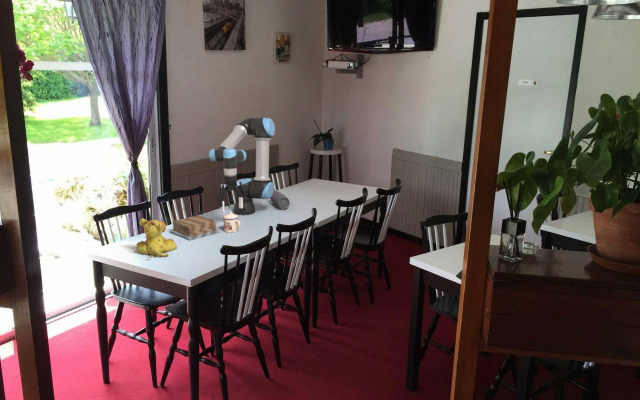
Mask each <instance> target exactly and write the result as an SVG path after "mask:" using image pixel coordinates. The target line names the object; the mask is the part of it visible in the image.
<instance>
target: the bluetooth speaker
mask: <svg viewBox="0 0 640 400" xmlns="http://www.w3.org/2000/svg"><path fill="white" fill-rule="evenodd" d="M269 200H270V201H271V203H273V204H274V205H275V206H276V207H277V208H278V209H283V210H284V209H287V208H288V207H290V203H291V202H290V199H289V197H287V196H286V195H285V194H283V193H282V192H280V191H277V190H274V191H273V194H272V196H271V198H269Z"/></svg>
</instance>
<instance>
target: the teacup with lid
mask: <svg viewBox="0 0 640 400" xmlns="http://www.w3.org/2000/svg"><path fill="white" fill-rule="evenodd" d="M222 219H223V229H224V232H225V233H227V234H229V233H237V232H238V231H239V228H241V222H240V221H239V215H237V214H234V213H233V212H232V211H229V212H228V213H227V214H225V215H223V218H222Z"/></svg>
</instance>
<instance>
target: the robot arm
mask: <svg viewBox="0 0 640 400" xmlns="http://www.w3.org/2000/svg"><path fill="white" fill-rule="evenodd" d="M275 132H276V125H275V123H274V121H273V120H272V118H270V117H269V118H268V117H246V118H245V119H243V120H241V121H239V122H238V123H236V125H235V126H234V127H233V130H232V132H230V134H229V135H228V136H227V137H226V138H225V139H224V140H223V142H221V143H220V145H219V146H218V147H217V148H216V149H215V148H212V149H210V151H209V152H208V157H209V160H210V161H211V162H216V163H217V162H218V163H223V181H224V184H222V183H221V184H220V185H219V190H218V192H217V195H216V198H215V200H216V201H218V203H219V208H220V212H221V213H225V201H224V200H225V198H226V197H227V195H228V193H229V192H232V191H234V200H235V203H234V206H233V209H232V211H233V212H232V214H235V215H238V216H240V215H241V216H246V215H247V216H248V215H251V214H252V215H253V214H255V213H256V207H255V204H254V201H253V199H257V200H270V198H271V196H272V194H273V191H275V186H274V185H275V184H274V183H273V182H272V180H271V178H270V176H269V174H270V172H269V171H270V168H269V167H270V165H269V164H270V141H271V140H272V137H273V136H274V135H275ZM247 136H253V139H254V140H255V141H256V142H255V144H256V145H255V177H253V179H252V178H250V177H249V178H247V177H246V178H240V179H238V175H237V174H238V173H237V172H238V170H237V169H238V168H237V167H238V166H237V164H239V163H242V162H244V161H245V160H246V159H247V153H246V151H245V150H243V149H236V148H235V147H236V146H237V145H238V144H239V143H240V142H241V140H242V139H245V138H246V137H247Z"/></svg>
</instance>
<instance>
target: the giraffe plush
mask: <svg viewBox="0 0 640 400" xmlns="http://www.w3.org/2000/svg"><path fill="white" fill-rule="evenodd" d="M138 223H139V225H140V226H142V227H143V232H144V234H145V241H144V240H141V241H138V242H137V244H136V248H135V249H136V251H137V253H138V254H141V255H146V256H148V255H149V256H148V257H147V258H151V259H153V258H155V257H157V256H158V257H164V258H166V257H169V254H168V253H167V252H172V251H174V250H177V249H178V246H177V243H176V241H174V239H173V238H168V239H167V238H166V237H165V236H164V235H162V233H164V232H165V231H166V230H167V229H166V228H167V225H166V223H165V222H164V221H163V220H158V219H152V220H147V219H145V218H141V219H140V220H139V222H138ZM147 258H145V259H146V260H145V261H148V260H150V259H147Z"/></svg>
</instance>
